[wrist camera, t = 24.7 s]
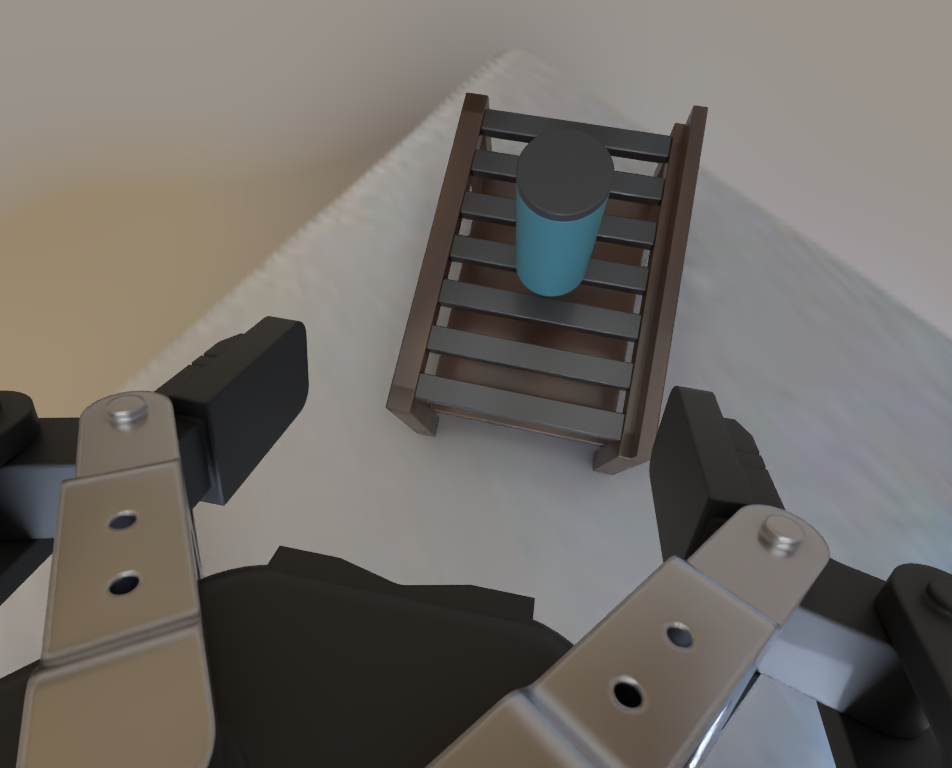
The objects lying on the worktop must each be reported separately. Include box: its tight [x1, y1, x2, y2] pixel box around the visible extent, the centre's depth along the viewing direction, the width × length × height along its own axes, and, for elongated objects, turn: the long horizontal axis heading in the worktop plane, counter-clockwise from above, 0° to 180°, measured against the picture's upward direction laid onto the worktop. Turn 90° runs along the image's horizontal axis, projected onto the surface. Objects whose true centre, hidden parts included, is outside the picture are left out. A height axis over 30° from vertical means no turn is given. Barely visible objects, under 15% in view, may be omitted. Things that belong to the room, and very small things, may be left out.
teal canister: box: [516, 128, 614, 296], centre depth 28 cm, size 4×4×9 cm
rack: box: [386, 93, 708, 475], centre depth 36 cm, size 14×20×12 cm
